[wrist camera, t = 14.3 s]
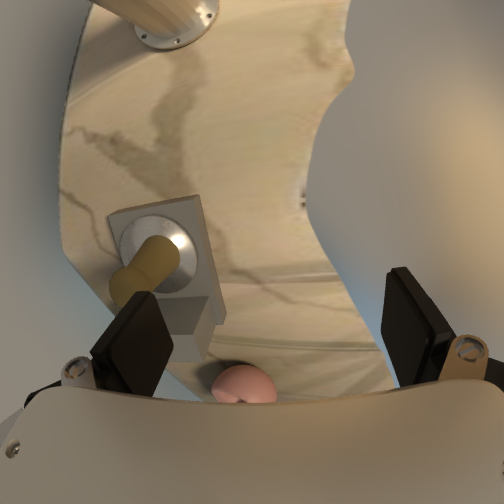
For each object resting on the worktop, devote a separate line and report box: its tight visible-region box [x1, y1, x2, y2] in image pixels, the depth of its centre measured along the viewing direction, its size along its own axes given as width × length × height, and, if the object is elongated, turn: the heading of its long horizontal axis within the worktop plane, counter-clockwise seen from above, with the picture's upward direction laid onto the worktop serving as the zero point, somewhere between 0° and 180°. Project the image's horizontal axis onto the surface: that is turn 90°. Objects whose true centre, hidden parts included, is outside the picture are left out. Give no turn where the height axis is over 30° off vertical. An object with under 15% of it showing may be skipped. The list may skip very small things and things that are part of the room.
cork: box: [109, 235, 180, 308], centre depth 33 cm, size 6×6×11 cm
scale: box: [108, 194, 226, 363], centre depth 38 cm, size 20×14×12 cm
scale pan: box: [120, 214, 198, 294], centre depth 38 cm, size 12×12×1 cm
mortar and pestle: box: [211, 365, 277, 403], centre depth 46 cm, size 12×12×11 cm
